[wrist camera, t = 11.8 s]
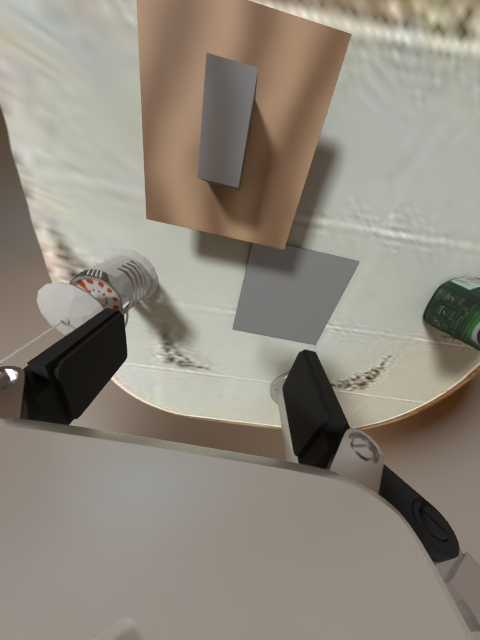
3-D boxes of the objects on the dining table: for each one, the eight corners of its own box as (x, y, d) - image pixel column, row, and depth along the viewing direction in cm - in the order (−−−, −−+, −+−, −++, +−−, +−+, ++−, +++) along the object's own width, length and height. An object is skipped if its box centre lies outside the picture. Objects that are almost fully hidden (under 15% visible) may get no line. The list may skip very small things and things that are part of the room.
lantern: (151, 249, 33) (-24, 340, 11) (164, 309, 39) (65, 442, 18) (93, 247, 33) (-186, 334, 12) (115, 308, 39) (-42, 438, 18)
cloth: (346, 42, 16) (390, -28, 11) (282, 247, 25) (292, 260, 20) (141, -24, 15) (87, -138, 10) (150, 218, 24) (123, 223, 19)
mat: (357, 261, 33) (359, 261, 32) (314, 343, 42) (315, 344, 42) (253, 237, 31) (253, 237, 31) (232, 327, 41) (232, 329, 40)
